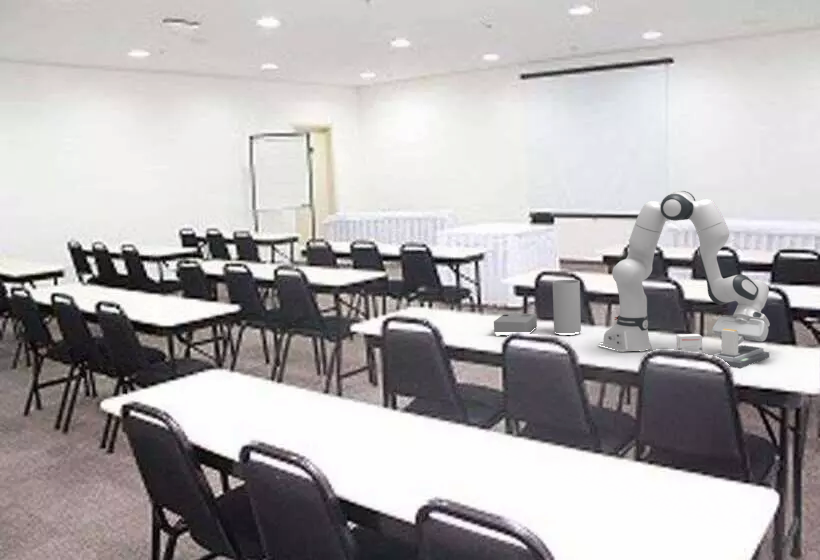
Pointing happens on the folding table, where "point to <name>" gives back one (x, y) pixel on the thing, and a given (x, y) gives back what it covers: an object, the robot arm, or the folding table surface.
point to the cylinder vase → (566, 306)
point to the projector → (515, 323)
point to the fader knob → (729, 343)
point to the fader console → (745, 356)
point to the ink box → (689, 342)
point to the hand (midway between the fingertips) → (732, 346)
